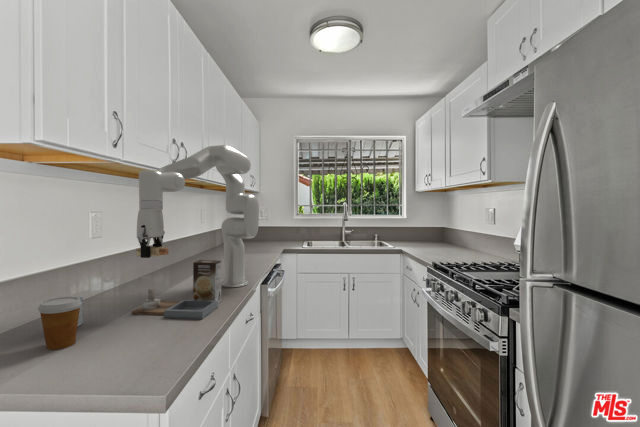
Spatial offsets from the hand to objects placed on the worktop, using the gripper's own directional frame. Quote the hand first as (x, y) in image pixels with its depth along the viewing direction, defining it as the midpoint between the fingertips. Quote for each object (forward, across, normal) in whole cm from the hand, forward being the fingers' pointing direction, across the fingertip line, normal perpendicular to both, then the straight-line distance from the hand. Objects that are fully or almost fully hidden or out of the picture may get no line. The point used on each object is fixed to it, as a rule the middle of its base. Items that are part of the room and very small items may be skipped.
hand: (151, 255), depth 125 cm
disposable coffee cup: (+20, +31, -8) cm, 38 cm away
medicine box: (+20, +19, -15) cm, 32 cm away
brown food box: (+20, -11, +16) cm, 28 cm away
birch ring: (0, 0, 0) cm, 0 cm away
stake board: (+20, -2, +1) cm, 20 cm away
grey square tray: (+20, +1, +15) cm, 25 cm away
